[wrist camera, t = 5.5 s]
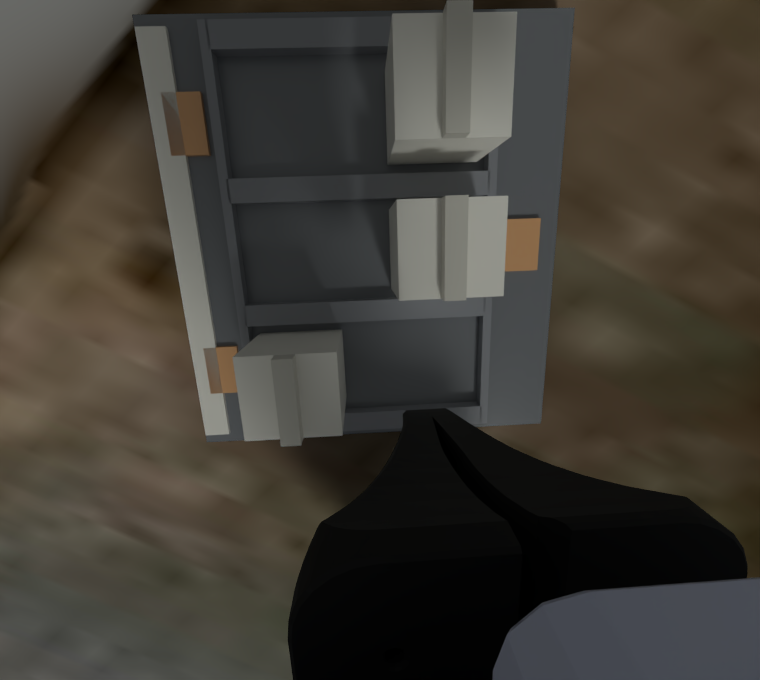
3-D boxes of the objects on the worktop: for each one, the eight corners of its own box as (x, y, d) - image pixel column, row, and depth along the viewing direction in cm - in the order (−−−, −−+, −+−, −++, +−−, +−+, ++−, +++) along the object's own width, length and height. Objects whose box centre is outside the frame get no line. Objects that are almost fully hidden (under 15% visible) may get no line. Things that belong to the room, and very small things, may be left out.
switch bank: (531, 413, 21) (546, 428, 19) (215, 431, 21) (202, 448, 19) (559, 24, 16) (583, -2, 15) (149, 31, 16) (122, 5, 14)
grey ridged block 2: (476, 162, 16) (518, 131, 12) (387, 164, 16) (396, 134, 12) (478, 70, 16) (525, -1, 11) (384, 71, 15) (393, 1, 11)
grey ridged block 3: (472, 285, 18) (509, 298, 13) (390, 288, 18) (400, 303, 13) (474, 206, 17) (515, 193, 12) (388, 209, 17) (398, 196, 12)
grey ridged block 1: (346, 396, 19) (341, 443, 15) (268, 401, 19) (240, 448, 14) (342, 329, 18) (335, 356, 14) (260, 333, 18) (226, 361, 13)
